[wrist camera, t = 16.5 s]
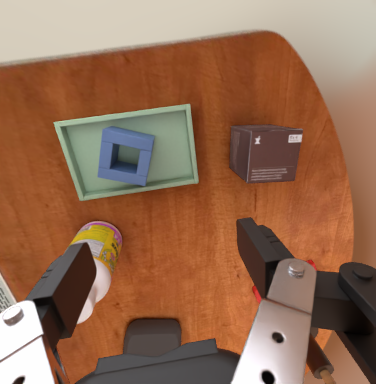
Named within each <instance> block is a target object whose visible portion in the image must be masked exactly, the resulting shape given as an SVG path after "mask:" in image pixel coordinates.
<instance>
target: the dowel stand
mask: <svg viewBox="0 0 376 384" xmlns="http://www.w3.org/2000/svg"><path fill="white" fill-rule="evenodd" d="M317 334H318V328H314V327H310V334H309V342H308V350H307V359H306V363H307V365H308V366H309V368H310V370H311V372H312V374H313V375H314V377H315V378H317V379H323V380H324V382H325V384H336V382H335V381H334V379H333V378H332V376H331V374H332V373H333V371H334V368H333V366H332V365H331V363H330V362H329V360H328V359H327V357H326V355H325V354H324V352H323V351H322V349H321V348H320V346H319V345H318V343H317V342H316V340H315V337H316V336H317Z"/></svg>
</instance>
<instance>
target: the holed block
mask: <svg viewBox="0 0 376 384" xmlns="http://www.w3.org/2000/svg"><path fill="white" fill-rule="evenodd" d="M154 140H155V136H154V135H150V134H145V133H141V132H137V131H132V130H128V129H124V128H119V127H115V126H110V127H107V128H104V129H102V138H101V147H100V156H99V167H98V175H97V177H98V178H103V179H109V180H114V181H119V182H125V183H130V184H135V185H141V186H146V181H147V177H148V172H149V166H150V161H151V156H152V150H153V145H154ZM119 145H123V146H128V147H132V148H137V149H141V150H140V155H139V161H138V165H137V164H132V163H127V162H122V161H117V159H118V152H119Z"/></svg>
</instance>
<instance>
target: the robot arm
mask: <svg viewBox="0 0 376 384" xmlns="http://www.w3.org/2000/svg"><path fill="white" fill-rule="evenodd" d="M236 224H237V245H238V250H239V254H240V256H241V258H242V260H243V262H244V264H245V266H246V268H247V270H248V272H249V274H250V276H251V278H252V280H253V282H254V285H255V287H256V289H257V291H258V293H259V295H260V297H261V302H260V305H259V307H258V310H257V313H256V316H255V318H254V321H253V324H252V327H251V329H250V332H249V335H248V338H247V340H246V343H245V346H244V349H243V351H242V354H241V355H239V354H237V353H234V352H232V351H229V350H225V349H219V348H217V345H216V340H215V338H214V339H208V340H202V341H196V342H191V343H186V344H184V345H182V346H180V347H177V348H175V349H173V350H171V351H169V352H166V353H164V354H162V355H160V356H146V355H137V354H128V353H127V354H121V355H116V356H110V357H104V358H99V359H98V363H97V366H96V370H95V371H93V372H91V373H90V374H88V375H86V376H84V377H83V378H82V379H80V380H79V381H77V382H76V383H75V384H303V383H304V375H305V367H306V359H307V350H308V342H309V334H310V327H314V328H321V329H328V330H335V332H336V333H337V335H338V336H339V338H340V339H341V341H342V342H343V344H344V345H345V347H346V348H347V350H348V351H349V353H350V354H351V355H352V357H353V358H354V360H355V361H356V363H357V364H358V366H359V367H360V369H361V370H362V372H363V373H364V375H365V376H366V377H367V379H368V381H369V382H370V384H376V269H375V268H373V267H371V266H368V265H365V264H362V263H356V262H348V263H344V264H342V265H341V266H340V269H339V273H336V272H324V271H316V270H315V269H314V267H313V266H312V265H311V264H309V263H307V262H306V261H303V260H300V259H296V258H294V256H293V255H292V254H291V253H290V252H289V251H288V249H287V248H286V247H285V246H284V245H283V243H282V242H280V240H279V239H278V238H277V236H276V235H275V234H274V233H273V232H272V230H271V229H269V228H267V227H265V226H264V225H259V226H257V224H256V223H255V222H254V220H253V219H252V218H251V217H250V218H243V219H237V222H236ZM96 274H97V268H96V264H95V261H94V258H93V255H92V252H91V250H90V247H89V244H88V243H87V242H83V243H77V244H71V245H70V246H69V247H68V249H67V250H66V252H65V253H64V254H63V255H61V256H60V257H58V258H57V259H56V260H55V261H54V262H52V263H51V265H50V266H49V267H48V269H47V270H46V272H45V273H44V274H43V276H42V277H41V279H40V280H39V281H38V282H37V284H36V285H35V286H34V288H33V289H32V291H31V292H30V293H29V295H28V296H27V297H26V299H25V300H24V301H21V302H18V303H16V304H14V305H12V306H10V307H8V308H7V309H5V310H4V311H3V312H1V313H0V384H70V382H69V379H68V376H67V373H66V370H65V367H64V364H63V361H62V358H61V356H60V353H59V350H58V348H57V343H58V341H59V339H64V338H70V337H71V336H72V334H73V331H74V329H75V327H76V324H77V322H78V319H79V317H80V315H81V312H82V310H83V307H84V305H85V303H86V300H87V298H88V295H89V293H90V291H91V288H92V286H93V283H94V281H95V278H96Z"/></svg>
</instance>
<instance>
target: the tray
mask: <svg viewBox="0 0 376 384" xmlns="http://www.w3.org/2000/svg"><path fill="white" fill-rule="evenodd" d="M54 126H55V129H56V132H57V135H58V138H59V140H60V143H61V146H62V149H63V152H64V155H65V158H66V161H67V164H68V167H69V170H70V173H71V176H72V179H73V182H74V185H75V188H76V191H77V194H78V197H79V200H80V201H84V200H90V199H97V198H103V197H110V196H116V195H123V194H129V193H136V192H142V191H149V190H155V189H162V188H168V187H175V186H181V185H188V184H194V183H199V180H198V171H197V162H196V153H195V144H194V135H193V126H192V117H191V108H190V104H185V105H177V106H170V107H163V108H155V109H148V110H140V111H133V112H125V113H118V114H110V115H103V116H95V117H88V118H80V119H73V120H66V121H58V122H54ZM110 126H115V127H119V128H124V129H128V130H132V131H137V132H141V133H145V134H150V135H154V136H155V140H154V145H153V150H152V156H151V161H150V166H149V172H148V177H147V181H146V186H141V185H135V184H130V183H125V182H119V181H114V180H109V179H103V178H98V177H97V175H98V167H99V156H100V147H101V138H102V129H104V128H107V127H110ZM140 150H141V149H137V148H132V147H128V146H123V145H119V152H118V159H117V161H122V162H127V163H132V164H137V165H138V161H139V155H140Z"/></svg>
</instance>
